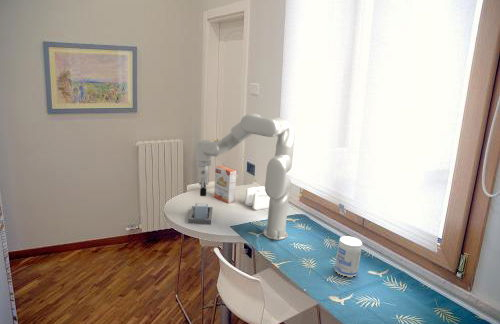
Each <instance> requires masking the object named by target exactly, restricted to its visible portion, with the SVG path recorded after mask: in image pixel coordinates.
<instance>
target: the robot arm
mask: <svg viewBox="0 0 500 324" xmlns="http://www.w3.org/2000/svg"><path fill="white" fill-rule="evenodd" d="M251 135H257V136H262V137H268V138H274V137H277V140H276V143H275V153H274V157H272V158H271V159H270V160H269V161H268V163H267V166H266V172H265V173H266V174H265V183H264V187H265V191H266V194H267V195H268V196H269V197H270V200H269V209H267V210H268V212H267V220H266V221H267V222H266V228H265V229H264V230H263V231H262V233H263V236H265V237H266V238H268V239H270V240H276V241H281V240H285V239H287V238H288V236H289V233H288V231H286V230H287V229H286V228H287V217H288V207H289V201H290V194H291V189H292V183H291V179H290V178H289V177H288V176H287V173H289V172H290V170H291V168H292V164H293V155H294V145H295V131H294V127H293V125H292V124H291V123H290V122H289V120H287V119H286V118H283V117H279V116H278V117H273V118H267V117H262V116H261V115H260V114H259V113H255V112H254V113H249V114H245V115H244V116H243V117H242V118H241V119H240V121H239V122H238V123H237V124H235V125H233V126H232V127H231V129H230V132H229V133H228V134H227V135H225V136H224V137H223V138H221V139H219V140H216V141H211V140H208V139H199V140H198V141H197V142H196V167H198V184H199V186H200V189H199V191H200V192H199V196H200V197H206V196H207V186H208V185H209V184H210V183H209V182H210V168H211V166H212V165H211V164H212V157H218V156H221V155H224V154H226V153H228V152H230V151H231V150H232V149H234V148H235V147H236V146H238V145H239V144H241V143H242V142H243V141H244V140H246V139H247V138H249V137H251Z"/></svg>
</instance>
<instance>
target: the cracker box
mask: <svg viewBox="0 0 500 324" xmlns="http://www.w3.org/2000/svg"><path fill="white" fill-rule="evenodd" d="M237 172H238V170H236V169H233V168H230V167H227V166H225V165H217V166H215V171H214V173H215V175H214V176H215V177H214V194H213V195H214V196H213V197H214V198H216V199H218V200H220V201H222V202H224V203H225V204H226V203H227V204H232V203H235V200H236V188H237V187H236V185H237Z"/></svg>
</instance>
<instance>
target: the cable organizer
mask: <svg viewBox="0 0 500 324" xmlns="http://www.w3.org/2000/svg"><path fill="white" fill-rule="evenodd" d="M269 200H270V197H269V196H268V195H267V194H266V191H265V185H264V186H263V185H262V186H252V187H247V188H246V190H245V201H244V203H245V205H246V206H249V207H251V206H252V209H253V210H255V211H261V210H264V209H265V210H269Z"/></svg>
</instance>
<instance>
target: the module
mask: <svg viewBox="0 0 500 324" xmlns="http://www.w3.org/2000/svg"><path fill="white" fill-rule="evenodd" d="M194 206H195V211H194V214H193V217H194V218H198V219H208V217H209V212H208V207H209V203H198V202H197V203H195V204H194Z"/></svg>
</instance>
